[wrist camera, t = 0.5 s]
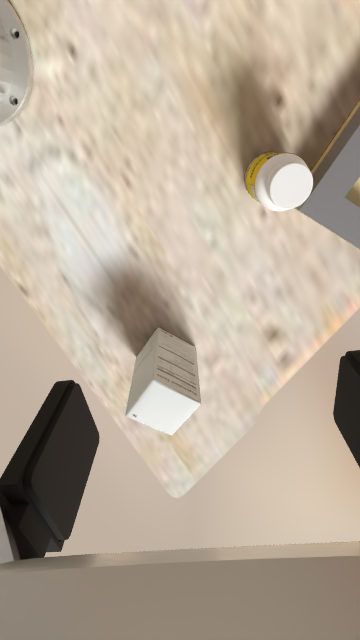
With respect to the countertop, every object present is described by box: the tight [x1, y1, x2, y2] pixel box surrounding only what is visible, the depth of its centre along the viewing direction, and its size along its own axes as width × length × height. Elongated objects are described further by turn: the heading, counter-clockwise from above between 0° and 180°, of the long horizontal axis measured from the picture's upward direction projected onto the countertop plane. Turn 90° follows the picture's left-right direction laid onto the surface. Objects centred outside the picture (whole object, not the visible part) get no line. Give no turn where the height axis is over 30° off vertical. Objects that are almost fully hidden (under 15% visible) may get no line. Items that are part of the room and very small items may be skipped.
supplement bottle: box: [245, 152, 313, 211], centre depth 32 cm, size 5×5×10 cm
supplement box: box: [125, 327, 201, 435], centre depth 44 cm, size 7×7×13 cm
